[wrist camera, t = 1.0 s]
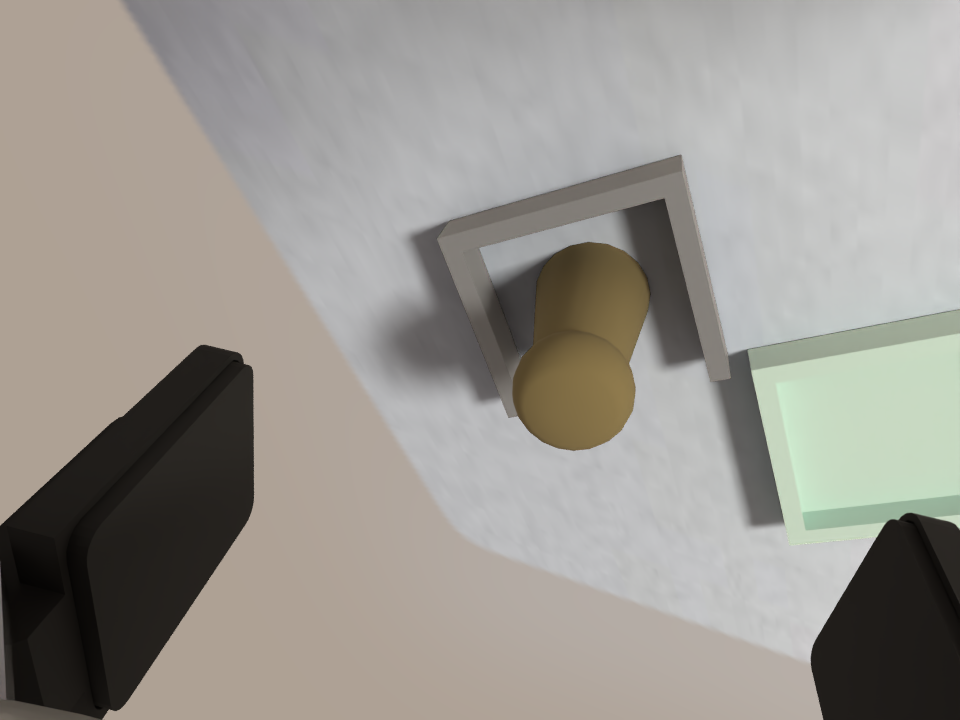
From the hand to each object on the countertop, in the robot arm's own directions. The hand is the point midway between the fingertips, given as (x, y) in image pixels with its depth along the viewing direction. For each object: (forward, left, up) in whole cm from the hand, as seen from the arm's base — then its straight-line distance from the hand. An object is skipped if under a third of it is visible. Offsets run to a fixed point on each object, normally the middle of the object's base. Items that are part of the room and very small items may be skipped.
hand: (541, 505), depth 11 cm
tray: (-9, +20, -28) cm, 35 cm away
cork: (+4, +9, -28) cm, 30 cm away
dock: (+4, +9, -28) cm, 29 cm away
